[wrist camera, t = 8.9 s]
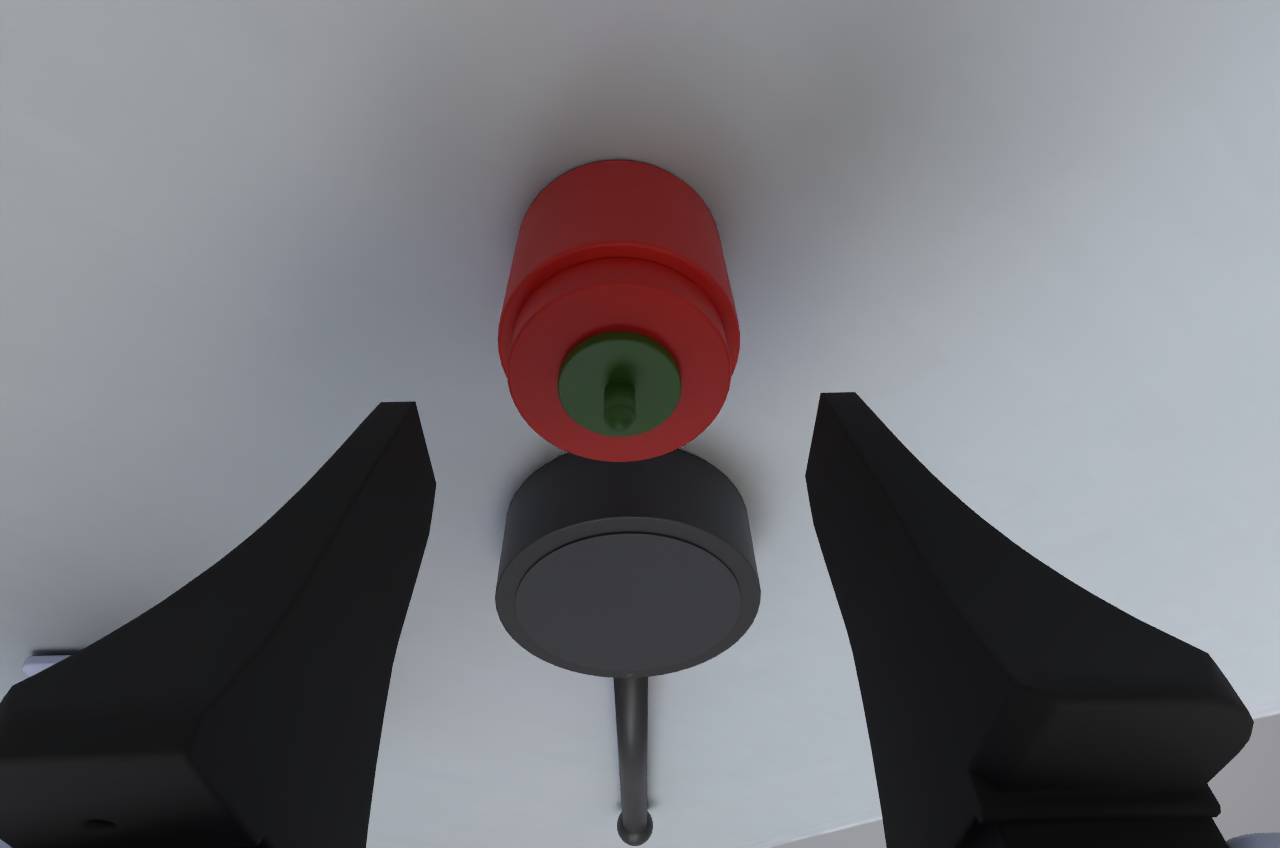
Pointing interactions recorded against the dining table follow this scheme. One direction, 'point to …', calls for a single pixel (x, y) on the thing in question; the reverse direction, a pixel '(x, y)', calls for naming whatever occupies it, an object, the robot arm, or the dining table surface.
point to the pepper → (618, 314)
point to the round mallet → (628, 583)
